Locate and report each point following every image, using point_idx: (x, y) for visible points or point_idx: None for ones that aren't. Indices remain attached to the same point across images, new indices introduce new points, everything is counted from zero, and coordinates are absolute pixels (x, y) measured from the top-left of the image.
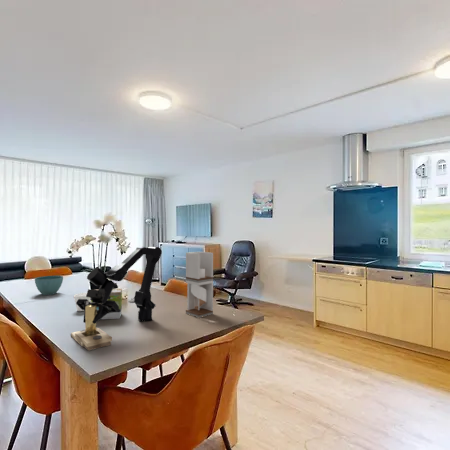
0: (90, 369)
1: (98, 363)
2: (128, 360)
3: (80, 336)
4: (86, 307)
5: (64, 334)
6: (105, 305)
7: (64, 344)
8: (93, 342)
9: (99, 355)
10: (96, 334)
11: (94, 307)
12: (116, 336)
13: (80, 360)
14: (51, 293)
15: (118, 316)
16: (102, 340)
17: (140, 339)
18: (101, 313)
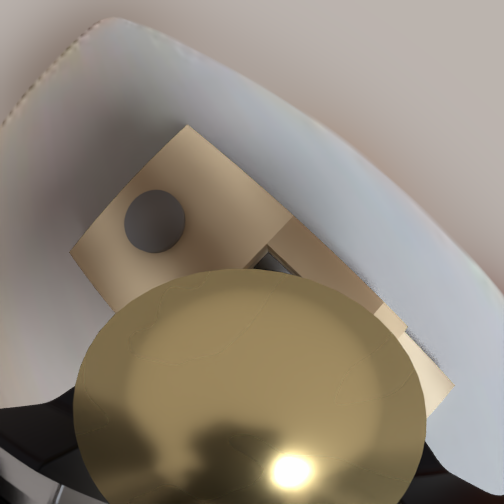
0: (119, 27)
1: (102, 61)
2: (17, 113)
3: (316, 248)
4: (331, 290)
5: (486, 395)
6: (11, 500)
7: (406, 234)
8: (157, 156)
9: (115, 115)
10: None
11: (93, 368)
12: None
13: (182, 59)
14: None
15: None
16: (114, 202)
17: (4, 337)
18: None
